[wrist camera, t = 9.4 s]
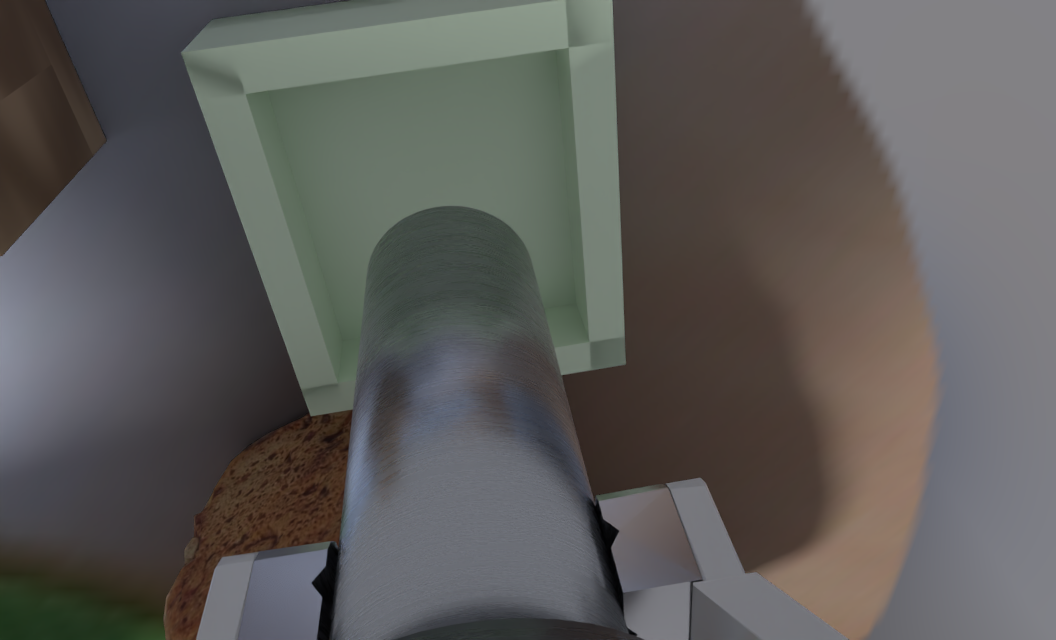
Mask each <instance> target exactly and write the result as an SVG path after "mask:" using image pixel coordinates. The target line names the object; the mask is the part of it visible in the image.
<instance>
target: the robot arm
mask: <svg viewBox="0 0 1056 640" xmlns="http://www.w3.org/2000/svg"><path fill="white" fill-rule="evenodd" d="M595 507H596V511H597V515H598V519H599V523H600V527H601V531H602V535H603V539H604V543H605V546H606V548H607V552H608V556H609V560H610V563H611V567H612V573H613V577H614V581H615V585H616V588H617V592H618V596H619V600H620V604H621V608H622V611H623V615H624V619H625V621H626V625H627V629H628V633H629V634H631V635H634V636H637V637H640V638H642V639H644V640H849V639H848V638H846V637H845V636H843V635H842V634H841V633H839V632H838V631H837V630H835V629H834V628H832V627H831V626H830V625H828V624H827V623H826V622H824V621H823V620H821V619H820V618H819V617H817V616H816V615H815V614H813V613H812V612H810V611H809V610H808V609H806V608H805V607H804V606H802V605H801V604H799V603H798V602H797V601H795V600H794V599H793V598H791V597H790V596H788V595H787V594H786V593H784V592H783V591H782V590H780V589H779V588H777V587H776V586H775V585H773V584H772V583H771V582H769V581H768V580H766V579H765V578H764V577H762V576H761V575H760V574H758V573H757V572H754V573H746V574H745V571H744V569H743V567H742V565H741V562H740V560H739V558H738V555H737V553H736V551H735V549H734V546H733V544H732V542H731V539H730V537H729V535H728V533H727V530H726V528H725V526H724V523H723V521H722V519H721V517H720V514H719V512H718V510H717V507H716V505H715V503H714V501H713V498H712V496H711V494H710V491H709V489H708V487H707V485H706V483H705V482H704V481H703V480H702V479H701V478H695V479H689V480H684V481H678V482H672V483H666V484H665V485H664V484H657V485H652V486H646V487H641V488H635V489H630V490H624V491H619V492H613V493H607V494H602V495H596V496H595ZM337 557H338V546H337V543H336V541H329V542H322V543H315V544H308V545H300V546H293V547H286V548H279V549H272V550H265V551H259V552H254V553H247V554H240V555H234V556H227V557H222V558H221V560H220V562H219V563H218V565H217V566H216V568H215V570H214V573H213V577H212V581H211V585H210V589H209V592H208V596H207V600H206V604H205V607H204V611H203V615H202V619H201V623H200V626H199V630H198V634H197V638H196V640H329V634H330V624H331V614H332V605H333V595H334V585H335V576H336V566H337Z"/></svg>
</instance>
